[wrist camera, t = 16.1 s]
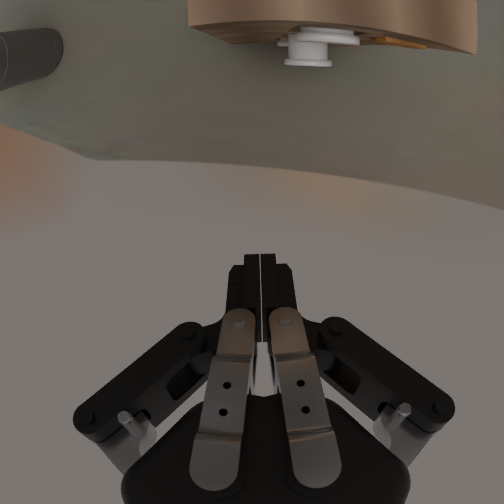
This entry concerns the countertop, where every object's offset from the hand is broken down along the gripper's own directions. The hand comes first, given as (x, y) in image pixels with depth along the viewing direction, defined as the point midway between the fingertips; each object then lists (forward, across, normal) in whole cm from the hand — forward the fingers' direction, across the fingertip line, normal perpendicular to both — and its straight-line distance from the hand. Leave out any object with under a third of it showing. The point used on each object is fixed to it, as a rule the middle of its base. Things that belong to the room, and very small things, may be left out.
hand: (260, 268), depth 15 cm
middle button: (+20, +5, +11) cm, 24 cm away
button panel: (+35, +5, +15) cm, 38 cm away
